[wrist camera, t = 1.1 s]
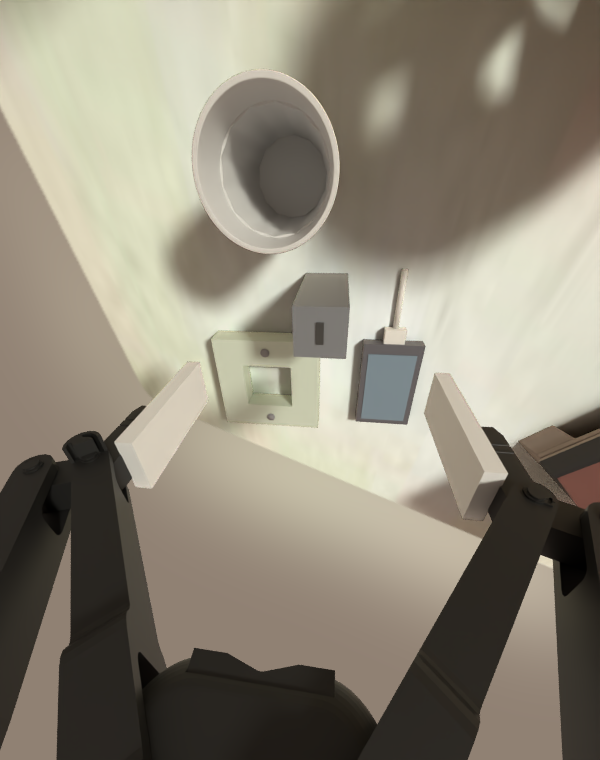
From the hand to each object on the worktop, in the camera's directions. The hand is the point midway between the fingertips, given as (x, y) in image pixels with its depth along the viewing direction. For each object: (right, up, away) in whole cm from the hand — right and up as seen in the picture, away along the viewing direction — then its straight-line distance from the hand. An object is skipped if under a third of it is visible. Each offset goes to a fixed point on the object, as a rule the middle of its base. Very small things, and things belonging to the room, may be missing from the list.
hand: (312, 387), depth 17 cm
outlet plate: (-4, +1, +20) cm, 21 cm away
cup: (-1, +18, +9) cm, 20 cm away
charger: (+2, +9, +14) cm, 17 cm away
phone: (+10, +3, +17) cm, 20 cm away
